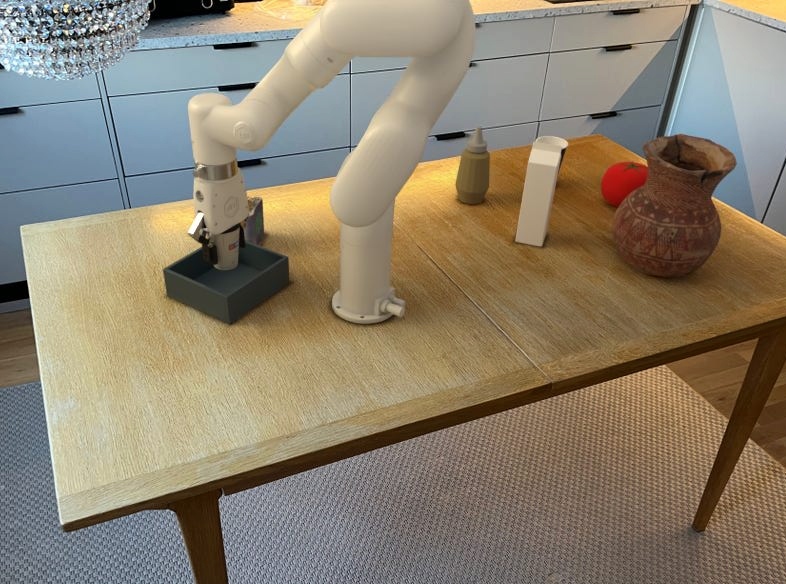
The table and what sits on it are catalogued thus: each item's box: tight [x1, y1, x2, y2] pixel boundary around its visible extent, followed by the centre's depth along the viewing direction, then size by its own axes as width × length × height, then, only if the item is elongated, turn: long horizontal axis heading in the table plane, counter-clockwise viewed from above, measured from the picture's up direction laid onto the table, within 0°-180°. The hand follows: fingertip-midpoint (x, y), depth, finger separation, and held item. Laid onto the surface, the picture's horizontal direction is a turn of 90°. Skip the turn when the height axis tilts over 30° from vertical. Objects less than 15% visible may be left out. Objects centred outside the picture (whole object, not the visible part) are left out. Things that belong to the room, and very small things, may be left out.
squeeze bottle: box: [454, 125, 491, 205], centre depth 179 cm, size 8×8×18 cm
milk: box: [514, 141, 562, 247], centre depth 163 cm, size 6×6×22 cm
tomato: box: [600, 160, 648, 209], centre depth 181 cm, size 12×12×10 cm
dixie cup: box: [535, 135, 569, 178], centre depth 189 cm, size 8×8×11 cm
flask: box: [244, 196, 266, 246], centre depth 162 cm, size 9×3×11 cm, turn 172°
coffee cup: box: [206, 223, 241, 270], centre depth 144 cm, size 7×7×10 cm
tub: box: [162, 240, 291, 325], centre depth 149 cm, size 16×18×6 cm
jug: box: [611, 133, 738, 278], centre depth 155 cm, size 22×21×25 cm
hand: (224, 253), depth 146 cm, fingers closed on coffee cup, 7 cm apart
